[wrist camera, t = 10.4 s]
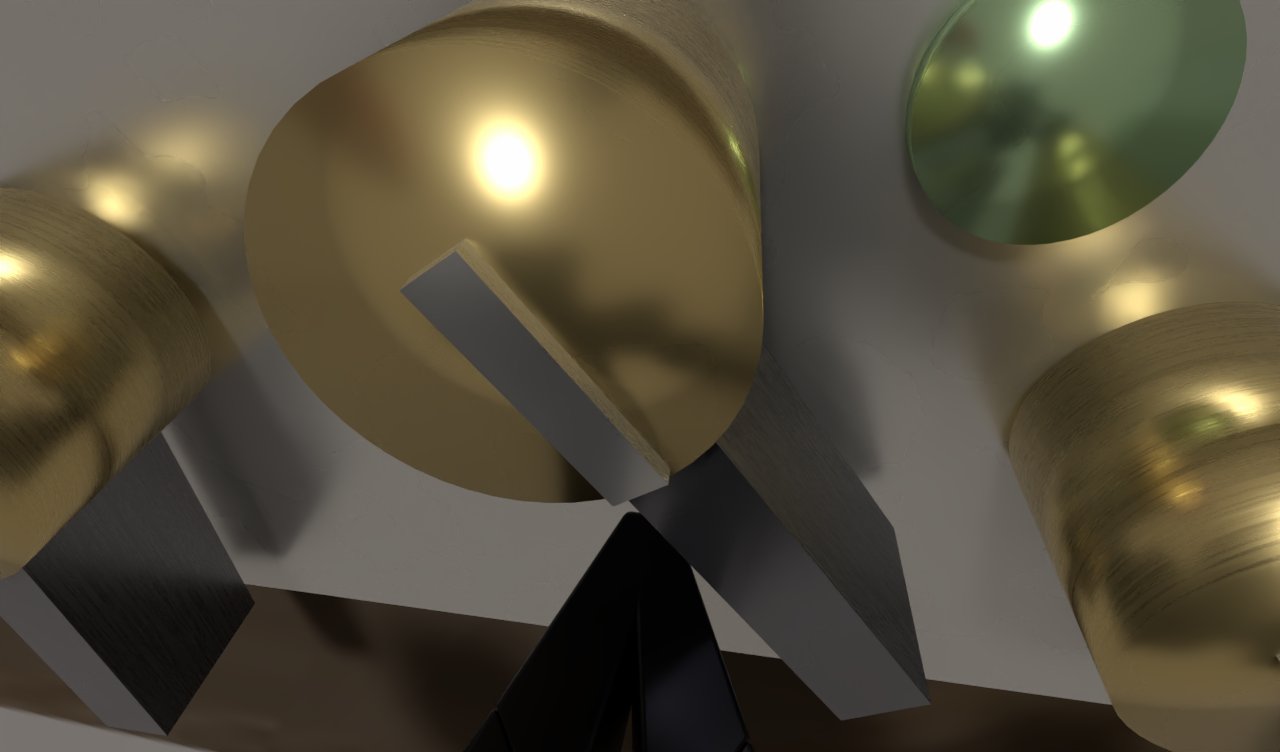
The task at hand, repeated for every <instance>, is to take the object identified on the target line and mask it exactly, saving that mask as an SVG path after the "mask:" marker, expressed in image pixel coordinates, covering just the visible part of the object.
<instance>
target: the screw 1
mask: <svg viewBox="0 0 1280 752" xmlns="http://www.w3.org/2000/svg"><path fill="white" fill-rule="evenodd" d="M211 367H212V355H211V348H210V343H209V339H208V336H207V333H206V330H205V328H204V325H203V323H202V321H201V319H200V317H199V315H198V313H197V311H196V309H195V308H194V306H193V305H192V303H191V302H190V300H189V299H188V297H187V295H186V294H185V293H184V292H183V290H182V289H181V288H180V286H179V285H178V284H177V283H176V281H175V280H174V279H173V278H172V277H171V276H170V275H169V274H168V272H167V271H166V270H165V269H164V268H163V267H162V266H161V265H160V264H159V263H158V262H157V261H156V260H155V259H154V258H153V257H151V256H150V255H149V254H148V253H147V252H146V251H145V250H144V249H142V248H141V247H140V246H139V245H137V244H136V243H135V242H134V241H132V240H131V239H130V238H129V237H127V236H126V235H124V234H123V233H121V232H120V231H119V230H117V229H116V228H114V227H113V226H111V225H110V224H108V223H106V222H105V221H103V220H101V219H99V218H98V217H96V216H94V215H92V214H91V213H89V212H87V211H85V210H82V209H80V208H78V207H76V206H74V205H72V204H70V203H67V202H64V201H62V200H59V199H56V198H54V197H51V196H47V195H44V194H40V193H36V192H33V191H27V190H21V189H14V188H0V616H1V617H2V618H3V619H4V620H5V621H6V622H7V623H8V624H9V625H10V626H11V627H12V628H13V629H14V630H15V631H16V632H17V633H18V634H19V635H20V637H21V638H22V639H23V640H24V641H25V642H26V643H27V644H28V645H29V646H30V647H31V648H32V649H33V650H34V651H35V652H36V653H37V654H38V655H39V656H40V657H41V658H42V659H43V660H44V661H45V662H46V663H47V665H48V666H49V667H50V668H51V669H52V670H53V671H54V672H55V673H56V674H57V675H58V676H59V677H60V678H61V679H62V680H63V681H64V682H65V683H66V684H67V685H68V686H69V687H70V688H71V689H72V690H73V691H74V692H75V694H76V695H77V696H78V697H79V698H80V699H81V700H82V701H83V702H84V703H85V704H86V705H87V706H88V707H89V708H90V709H91V710H92V711H93V712H94V713H95V714H96V715H97V716H98V717H99V718H100V719H101V720H102V722H103V723H104V724H105V725H106V726H110V727H116V728H122V729H128V730H135V731H141V732H147V733H153V734H159V735H166V736H167V735H168V734H169V732H170V731H171V729H172V728H173V726H174V725H175V723H176V722H177V720H178V719H179V717H180V716H181V714H182V713H183V711H184V710H185V708H186V707H187V705H188V704H189V702H190V701H191V699H192V698H193V696H194V695H195V693H196V692H197V690H198V689H199V687H200V686H201V684H202V683H203V681H204V680H205V678H206V677H207V675H208V674H209V672H210V670H211V669H212V667H213V666H214V664H215V663H216V661H217V660H218V658H219V657H220V655H221V654H222V652H223V651H224V649H225V648H226V646H227V645H228V643H229V642H230V640H231V639H232V637H233V636H234V634H235V633H236V631H237V630H238V628H239V627H240V625H241V624H242V622H243V621H244V619H245V618H246V616H247V615H248V613H249V612H250V610H251V609H252V607H253V606H254V604H255V602H254V600H253V599H252V597H251V595H250V593H249V591H248V590H247V588H246V586H245V584H244V582H243V580H242V579H241V577H240V575H239V573H238V571H237V569H236V568H235V566H234V564H233V562H232V560H231V558H230V557H229V555H228V553H227V551H226V549H225V547H224V546H223V544H222V542H221V540H220V538H219V536H218V535H217V533H216V531H215V529H214V527H213V525H212V524H211V522H210V520H209V518H208V516H207V514H206V513H205V511H204V509H203V507H202V505H201V503H200V502H199V500H198V498H197V496H196V494H195V492H194V491H193V489H192V487H191V485H190V483H189V482H188V480H187V478H186V476H185V474H184V472H183V471H182V469H181V467H180V465H179V463H178V461H177V460H176V458H175V456H174V454H173V452H172V450H171V449H170V447H169V445H168V443H167V441H166V439H165V438H164V436H163V434H162V432H161V431H162V430H163V429H164V428H165V427H166V426H167V425H168V424H169V423H170V422H171V421H173V420H174V419H175V418H176V417H177V416H178V415H179V414H180V413H181V412H182V411H183V410H184V409H185V408H186V407H187V406H188V405H189V404H190V403H191V402H192V401H193V400H194V399H195V398H196V397H197V396H198V395H199V394H200V393H201V392H202V391H203V389H204V388H205V386H206V385H207V382H208V380H209V377H210V374H211Z"/></svg>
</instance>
